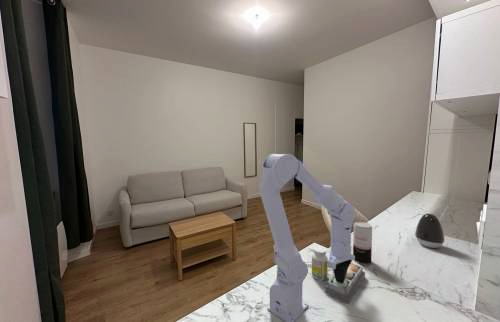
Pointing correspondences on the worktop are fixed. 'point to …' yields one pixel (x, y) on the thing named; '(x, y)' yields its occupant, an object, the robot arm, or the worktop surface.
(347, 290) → the tray of pastel eggs
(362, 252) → the grey black container
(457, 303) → the worktop surface
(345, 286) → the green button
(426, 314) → the worktop surface
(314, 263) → the supplement bottle
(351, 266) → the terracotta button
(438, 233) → the dark egg shaped speaker
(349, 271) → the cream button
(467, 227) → the worktop surface
